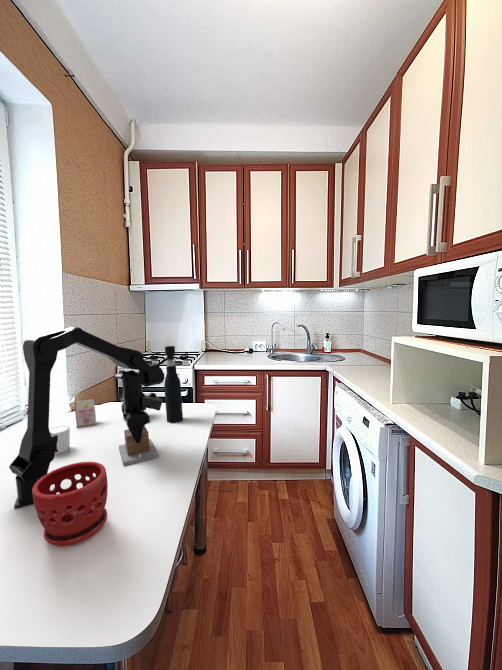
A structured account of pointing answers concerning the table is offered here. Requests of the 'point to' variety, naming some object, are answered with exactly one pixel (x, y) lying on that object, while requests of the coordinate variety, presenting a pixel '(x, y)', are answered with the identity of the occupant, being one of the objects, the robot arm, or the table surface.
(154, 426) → the table surface
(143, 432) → the hollow wooden cube
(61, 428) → the white cylinder
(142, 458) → the switch plate
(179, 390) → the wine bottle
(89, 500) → the plant pot
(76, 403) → the small printed carton
